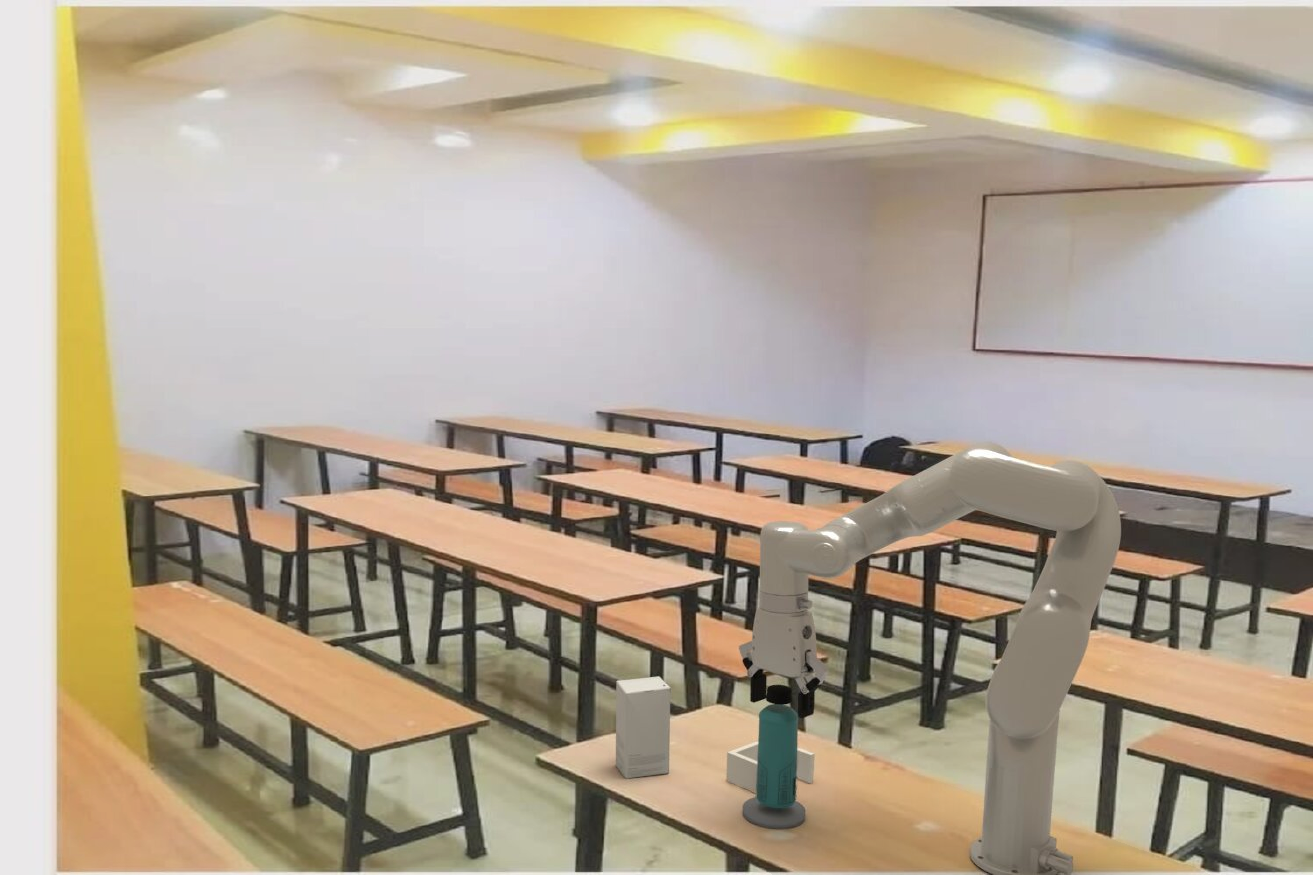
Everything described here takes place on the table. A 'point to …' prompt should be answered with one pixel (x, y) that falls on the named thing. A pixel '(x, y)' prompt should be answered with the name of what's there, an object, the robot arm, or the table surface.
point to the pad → (773, 815)
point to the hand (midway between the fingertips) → (781, 708)
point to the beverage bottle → (777, 750)
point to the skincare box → (642, 727)
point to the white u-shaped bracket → (745, 761)
